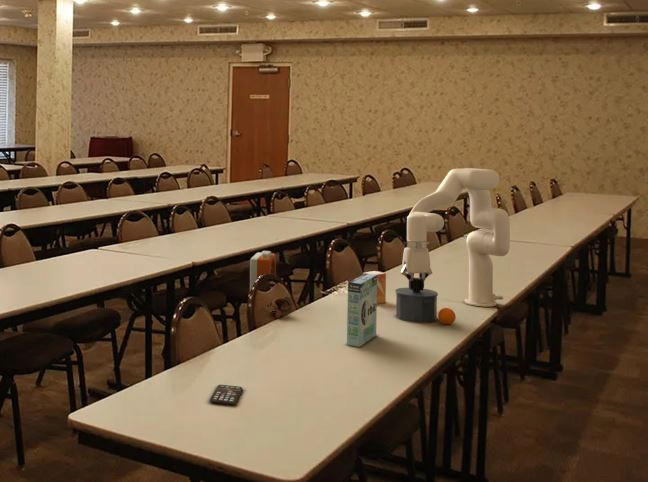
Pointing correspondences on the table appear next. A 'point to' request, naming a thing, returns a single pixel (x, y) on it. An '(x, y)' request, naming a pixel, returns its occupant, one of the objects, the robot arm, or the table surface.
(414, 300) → the pot
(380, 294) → the small box
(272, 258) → the alarm clock
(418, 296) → the lid
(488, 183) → the robot arm
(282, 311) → the orange grey twisted loop
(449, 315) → the ball
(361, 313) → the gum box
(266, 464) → the table surface
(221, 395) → the black calculator
